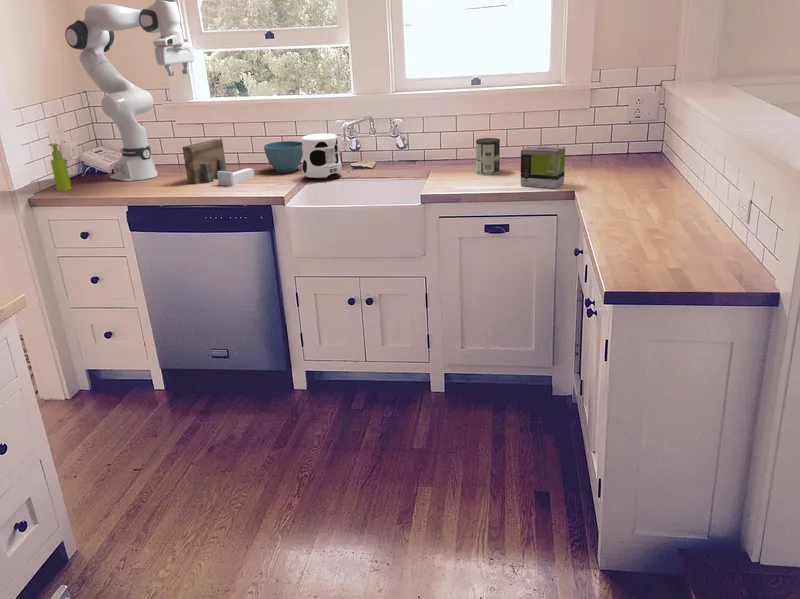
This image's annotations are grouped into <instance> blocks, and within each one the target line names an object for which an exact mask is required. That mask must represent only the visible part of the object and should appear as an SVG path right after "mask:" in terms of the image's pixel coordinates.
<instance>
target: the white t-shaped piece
mask: <svg viewBox="0 0 800 599" xmlns="http://www.w3.org/2000/svg"><path fill="white" fill-rule="evenodd" d="M217 176H218V178H217V180H218V182H217V184H218V185H219V186H225V187H234V186H235V185H236V184H240V183H243V182H245V181H248V180H252V179H254V178H255V170H254V168H244V169H240V170H237V171H227V172H225V171H217Z"/></svg>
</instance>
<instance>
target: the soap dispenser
mask: <svg viewBox="0 0 800 599" xmlns="http://www.w3.org/2000/svg"><path fill="white" fill-rule="evenodd" d="M48 146H51V147H52V150H53V151H52V152H51V154H52V159H51V160H50V164H51V169H52V173H53V176H54V180H55V186H56V190H57V191H58V192H66V191H70V190H72V189H73V188H72V184H71V179H70V175H69V170H68V166H67V160H66V158H63V156H62V153H61V151H60V150H59V149H58V146H59V143H49V144H48Z"/></svg>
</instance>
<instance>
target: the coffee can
mask: <svg viewBox="0 0 800 599" xmlns="http://www.w3.org/2000/svg"><path fill="white" fill-rule="evenodd" d="M500 142H501V139H500V138H496V137H485V138H484V137H483V138H482V137H481V138H477V139H475V168H476V170H475V171H476V174H477V175H480V176H492V175H498V174H500V170H501V168H500V167H501V166H500V162H501V161H500V159H501V158H500V155H501V154H500V150H501V148H500V147H501V145H500V144H501V143H500Z"/></svg>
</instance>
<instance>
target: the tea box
mask: <svg viewBox="0 0 800 599" xmlns="http://www.w3.org/2000/svg"><path fill="white" fill-rule="evenodd" d="M565 164H566V146H549V145H548V146H547V145H546V146H544V145H543V146H542V145H528V146H526V147H524V148H522V149H521V150H520V186H521V185H523V186H522V187H530V186H537V187H536V188H544V187H547V188H546V189H558V188H559V187H561V186H562V185H564V184H563V183H565V168H566V167H565ZM560 185H561V186H560Z"/></svg>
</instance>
